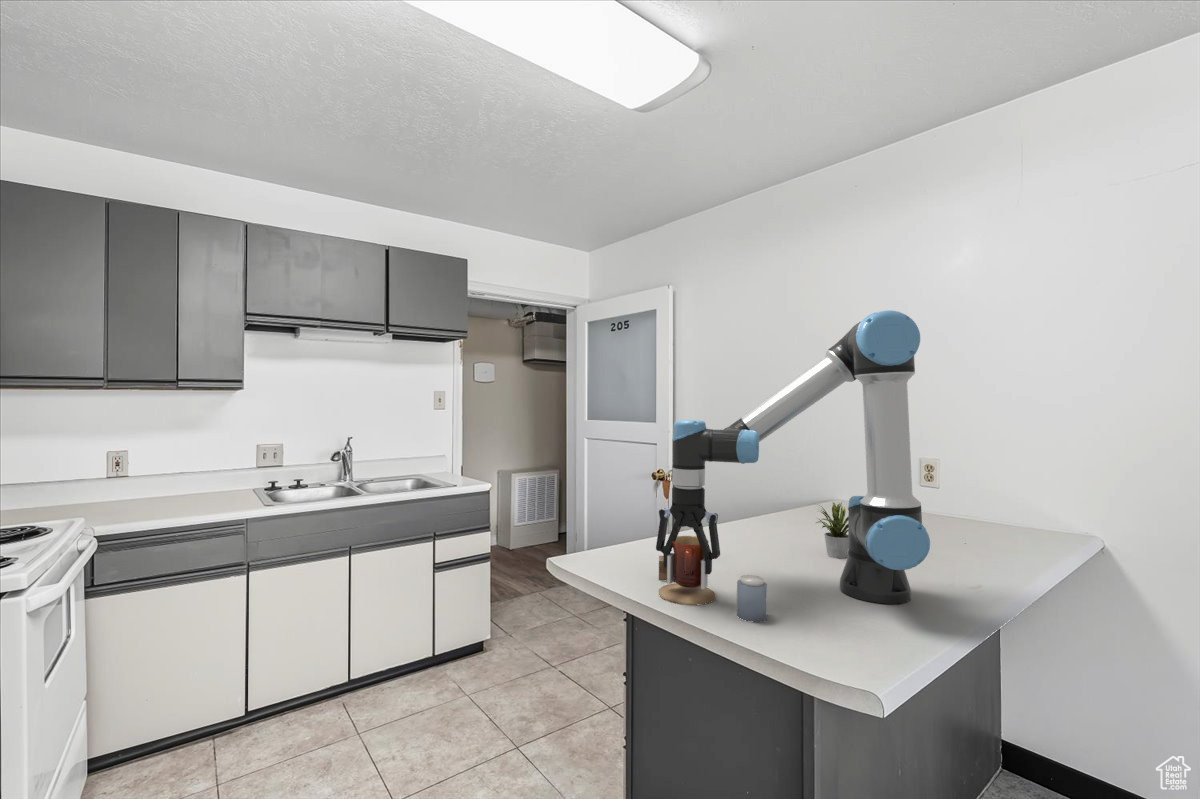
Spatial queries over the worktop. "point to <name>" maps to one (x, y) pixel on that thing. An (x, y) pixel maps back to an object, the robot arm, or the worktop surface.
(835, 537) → the house plant
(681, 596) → the trivet
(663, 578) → the block
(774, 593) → the worktop surface
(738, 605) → the jar
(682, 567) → the mug
